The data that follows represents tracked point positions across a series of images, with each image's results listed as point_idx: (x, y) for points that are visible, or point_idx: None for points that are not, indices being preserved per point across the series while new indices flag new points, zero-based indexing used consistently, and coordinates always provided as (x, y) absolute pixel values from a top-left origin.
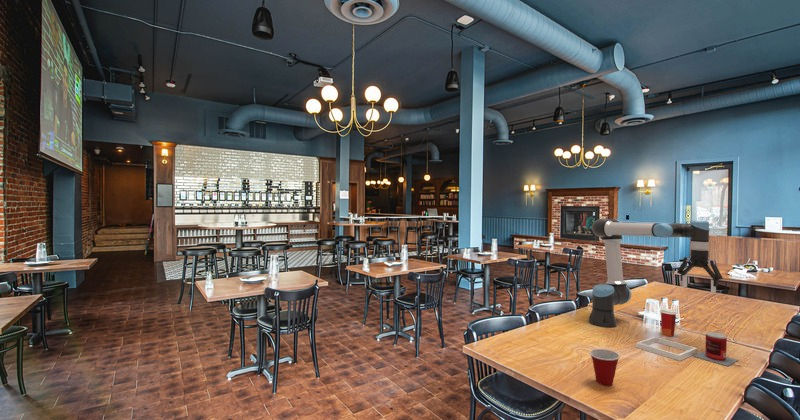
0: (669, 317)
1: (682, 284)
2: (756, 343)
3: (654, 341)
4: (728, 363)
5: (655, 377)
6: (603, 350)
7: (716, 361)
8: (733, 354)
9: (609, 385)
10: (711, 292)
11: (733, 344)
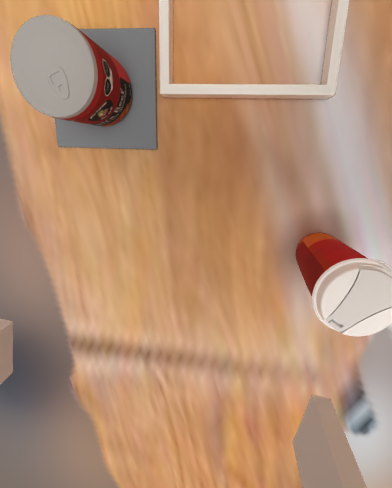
0: (333, 258)
1: (342, 432)
2: (109, 393)
3: (323, 74)
4: None
5: None
6: None
7: None
8: (96, 212)
9: None
10: (5, 322)
11: (138, 329)
